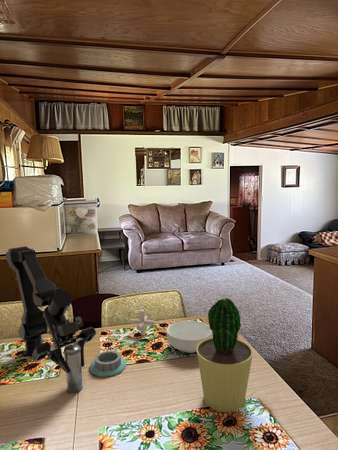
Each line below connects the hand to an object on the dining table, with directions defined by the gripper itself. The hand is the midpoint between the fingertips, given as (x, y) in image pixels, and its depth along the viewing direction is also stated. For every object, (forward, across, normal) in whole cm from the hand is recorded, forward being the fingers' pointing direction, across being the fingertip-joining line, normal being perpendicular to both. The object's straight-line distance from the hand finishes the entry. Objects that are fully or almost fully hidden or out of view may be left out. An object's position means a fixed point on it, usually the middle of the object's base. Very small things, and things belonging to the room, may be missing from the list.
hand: (75, 369), depth 98 cm
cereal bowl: (+9, +42, +1) cm, 43 cm away
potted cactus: (+28, +28, -18) cm, 44 cm away
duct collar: (+1, +14, +8) cm, 16 cm away
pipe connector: (-6, +37, +16) cm, 40 cm away
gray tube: (+4, 0, +6) cm, 7 cm away
